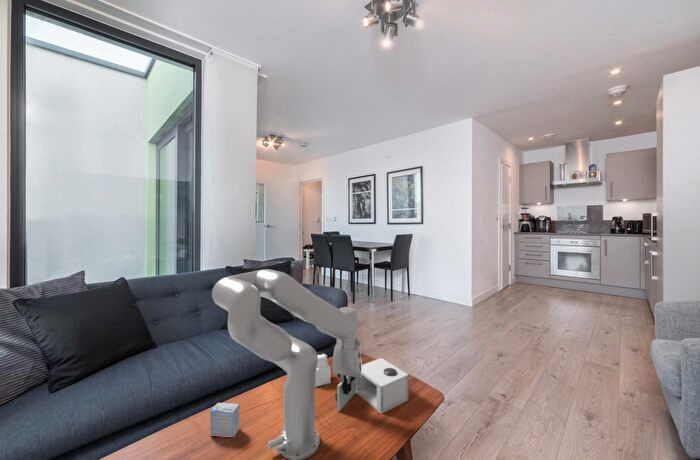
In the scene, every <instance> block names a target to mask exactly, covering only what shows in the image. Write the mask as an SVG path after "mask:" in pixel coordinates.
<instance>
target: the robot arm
mask: <svg viewBox="0 0 700 460" xmlns="http://www.w3.org/2000/svg"><path fill="white" fill-rule="evenodd" d="M211 297H212V300H213V302H214V304H215V305H217V306H218V307H219V308H220V309H223V310H225V311H227V313H228V314H227V329H228V333H229V335H230V337H231V339H233V340H234V341H235V342H236V343H238V344H239V345H241V346H242V347H244V348H246V349H247V350H249V351H250V352H251V353H253V354H255V355H256V356H258V357H259V358H261V359H263V360H265V361H268V362H271V363H273V364H275V365H276V366H278V367H279V368H281V369H282V370H283V371H285V372H286V374H287V376H286V377H287V378H286V380H285V382H284V383H283V384H284V385H283V395H282V396H283V429H282V430H280V435H278V436H277V438H274V439H272V440H269V441H268V442H267V447H268V450H271V449H274V452H275V453H278V452H279V453H280V455H281V456H282V457H283V458H284V459H287V460H305V459H307V458H310V457H311V456H312V455H314V454H315V453H316V452H317V450H319V446H320V444H321V441H320V440H321V437H320V434H319V432H318V431H317V429H316V426H315V425H316V415H315V414H316V411H315V410H316V406H315V405H316V399H315V398H316V396H315V395H316V392H315V391H316V390H315V389H316V387H315V374H316V369H317V363H318V356H317V351H316V350H315V348H313V347H312V346H311V345H310V344H308V343H306V342H305V341H302V340H300V339H298V338H296V337H294V336H292V335H291V334H289V333H288V332H287V331H286V330H285V329H284V328H282V327H281V326H279V325H276V323H275V324H274V323H273V322H271V321H269V320H267V318H265V317H264V316H263V315H261V303H262V302H261V301H262V300H261V298H265V299H268V300H270V301H272V302H273V303H275V304H276V305H278V306H280V307H281V308H283V309H284V310H286V311H288V313H291V315H293V316H294V317H296V318H299V319H300V320H302V321H304V322H307V323H309V324H312V325H314V326H315V328H316V329H317V330H318V331H319V332H320V333H322V334H325V335H327V336H329V337H330V336H331V337H332V338H335V339H336V344H334V345H335V346H334V350H333V354H332V355H333V356H332V370H333V371H332V374H333V375H335V376H337V377H338V378H339V379H340V382H342V390H343V394H346V395H348V393H349V392H350V391H351V382H352V381H353V380H360V378H361V373H360V372H361V371H362V365H363V362H362V359H363V358H362V353H361V345H362V341H360V340H359V338H358V311H357V309H356V308H354V307H350V306H343V307H340V308H338V307H336V306H334V304H333V305H332V304H331V303H329V302H328V301H326V300H325V299H323V298H321V297H320V296H318V295H316V293H315V294H314V293H313V292H312V291H311V290H310V289H308V288H306V287H305V286H304V285H303V284H301V283H300V282H298V281H297V280H296V279H295V278H293V277H292V276H290V275H289V274H287V273H286V272H282V271H278V270H276V269H275V270H274V269H268V268H266V269H259V270H254V271H249V272H244V273H239V274H235V275H229V276H226V277H223V278H221V279H220V280H218V281H217V282H216V283H215V284H214V285H213V288H212V291H211ZM359 345H360V346H359ZM347 376H348V378H347Z"/></svg>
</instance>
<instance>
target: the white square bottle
mask: <svg viewBox="0 0 700 460" xmlns="http://www.w3.org/2000/svg"><path fill="white" fill-rule="evenodd" d="M316 353H317V356H318V363H317V369H316V374H315V388H317V387H319V386H324V385H327V384H330V383H332V381H331V379H332V378H331V377H332V376H331V371H332V369H331V365H329V363H328V354H327V353H326V352H324V351H316Z"/></svg>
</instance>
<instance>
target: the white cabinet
mask: <svg viewBox="0 0 700 460" xmlns="http://www.w3.org/2000/svg"><path fill="white" fill-rule="evenodd" d="M360 373H361V378H360V380H356V393H355V394H357V395H358V396H360V397H361V398H362V399H363V400H364V401H366V402H367V403H368V404H369V405H370V406H371V407H372V408H374V409H375V410H376V411H378V413H380V414H384V413H386V412H387V411H389V410H391V409H394V408H396V407H398V406H399V405H401V404H403V403H406V402H407V401H409V396H410V395H409V388H410V387H409V385H410V384H409V381H410V379H409V378H410V377H409V373H407V372H406V371H404V370H402V369H400V368H398V367H397V366H396V365H393V364H392V363H390V362H388V361H387V360H385V359H384V358H382V357H380V358H377V359H375V360H372V361H370V362H367V363H364V364H362V371H361V372H360Z"/></svg>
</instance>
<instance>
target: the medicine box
mask: <svg viewBox="0 0 700 460" xmlns="http://www.w3.org/2000/svg"><path fill="white" fill-rule="evenodd" d="M240 410H241V409H240V404H238V403H230V402H229V403H227V402H217V403H216V404H215V405H214V406H213V407H212V408H211V410H210V412H209V413H210V414H209V415H210V416H209V417H210V418H209V419H210V436H211V435H221V436H232V437H234V436H235V434H236V433H238V432H239V431H240V429H241V422H240V421H241V420H240V419H241V416H240V415H241V413H240ZM239 428H240V429H239ZM238 430H239V431H238ZM237 431H238V432H237ZM236 435H237V434H236ZM235 437H236V436H235ZM235 437H234V438H235Z"/></svg>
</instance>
